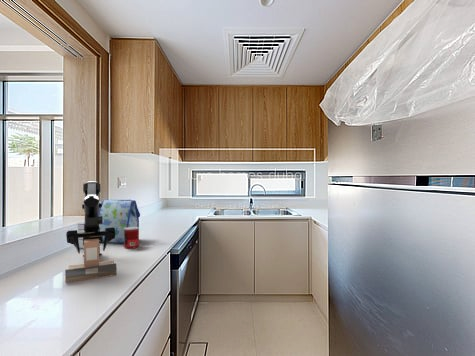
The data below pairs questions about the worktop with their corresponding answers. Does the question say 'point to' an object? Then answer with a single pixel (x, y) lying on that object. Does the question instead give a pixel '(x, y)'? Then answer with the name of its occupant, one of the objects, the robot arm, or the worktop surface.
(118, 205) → the lunch bag
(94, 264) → the carton
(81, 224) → the syrup box
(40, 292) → the worktop surface
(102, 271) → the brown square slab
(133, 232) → the canned food
